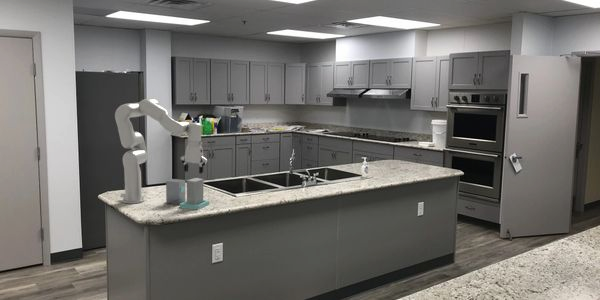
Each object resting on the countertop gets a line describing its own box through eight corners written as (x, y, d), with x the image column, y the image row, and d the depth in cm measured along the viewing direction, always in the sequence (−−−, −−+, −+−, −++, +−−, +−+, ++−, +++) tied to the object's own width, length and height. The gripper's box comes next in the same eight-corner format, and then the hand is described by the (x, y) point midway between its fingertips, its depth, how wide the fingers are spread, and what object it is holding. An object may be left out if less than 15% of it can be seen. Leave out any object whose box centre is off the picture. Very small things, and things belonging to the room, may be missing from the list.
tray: (179, 207, 286) (179, 203, 286) (191, 202, 299) (191, 198, 299) (198, 209, 283) (198, 205, 282) (209, 204, 295) (209, 200, 295)
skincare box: (195, 202, 296) (195, 177, 294) (204, 204, 292) (204, 178, 290) (185, 205, 289) (185, 179, 287) (194, 207, 285) (194, 180, 283)
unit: (164, 203, 294) (163, 181, 292) (172, 200, 302) (171, 178, 301) (180, 205, 291) (179, 182, 289) (187, 202, 299) (187, 179, 297)
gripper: (210, 144, 287) (209, 172, 289) (184, 141, 292) (183, 169, 294) (204, 145, 280) (203, 174, 282) (177, 143, 284) (177, 171, 287)
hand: (193, 172), depth 288 cm, fingers open, 9 cm apart
